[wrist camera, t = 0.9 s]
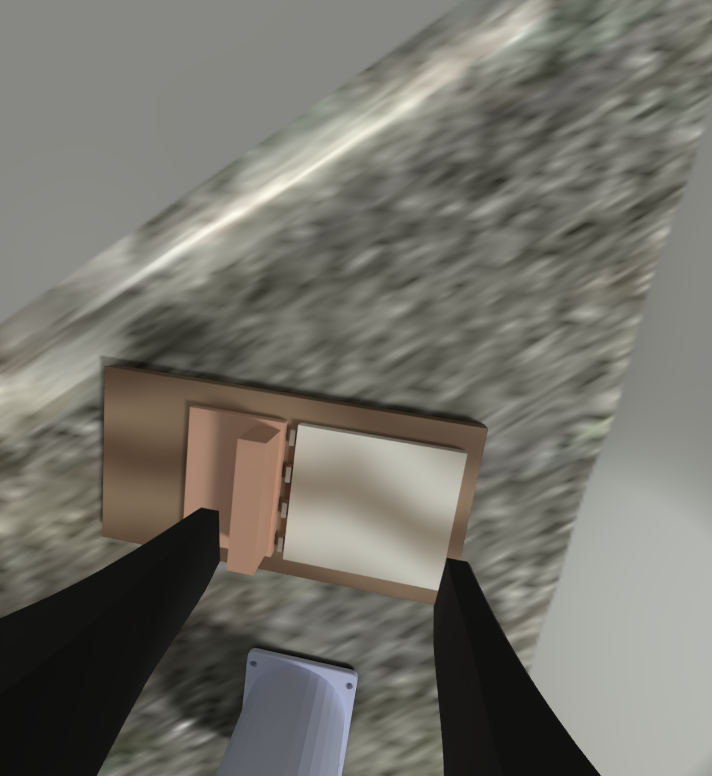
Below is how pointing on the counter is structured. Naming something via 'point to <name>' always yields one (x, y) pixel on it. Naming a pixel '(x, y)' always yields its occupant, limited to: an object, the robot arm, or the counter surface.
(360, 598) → the counter surface
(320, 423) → the board
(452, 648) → the robot arm
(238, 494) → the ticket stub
